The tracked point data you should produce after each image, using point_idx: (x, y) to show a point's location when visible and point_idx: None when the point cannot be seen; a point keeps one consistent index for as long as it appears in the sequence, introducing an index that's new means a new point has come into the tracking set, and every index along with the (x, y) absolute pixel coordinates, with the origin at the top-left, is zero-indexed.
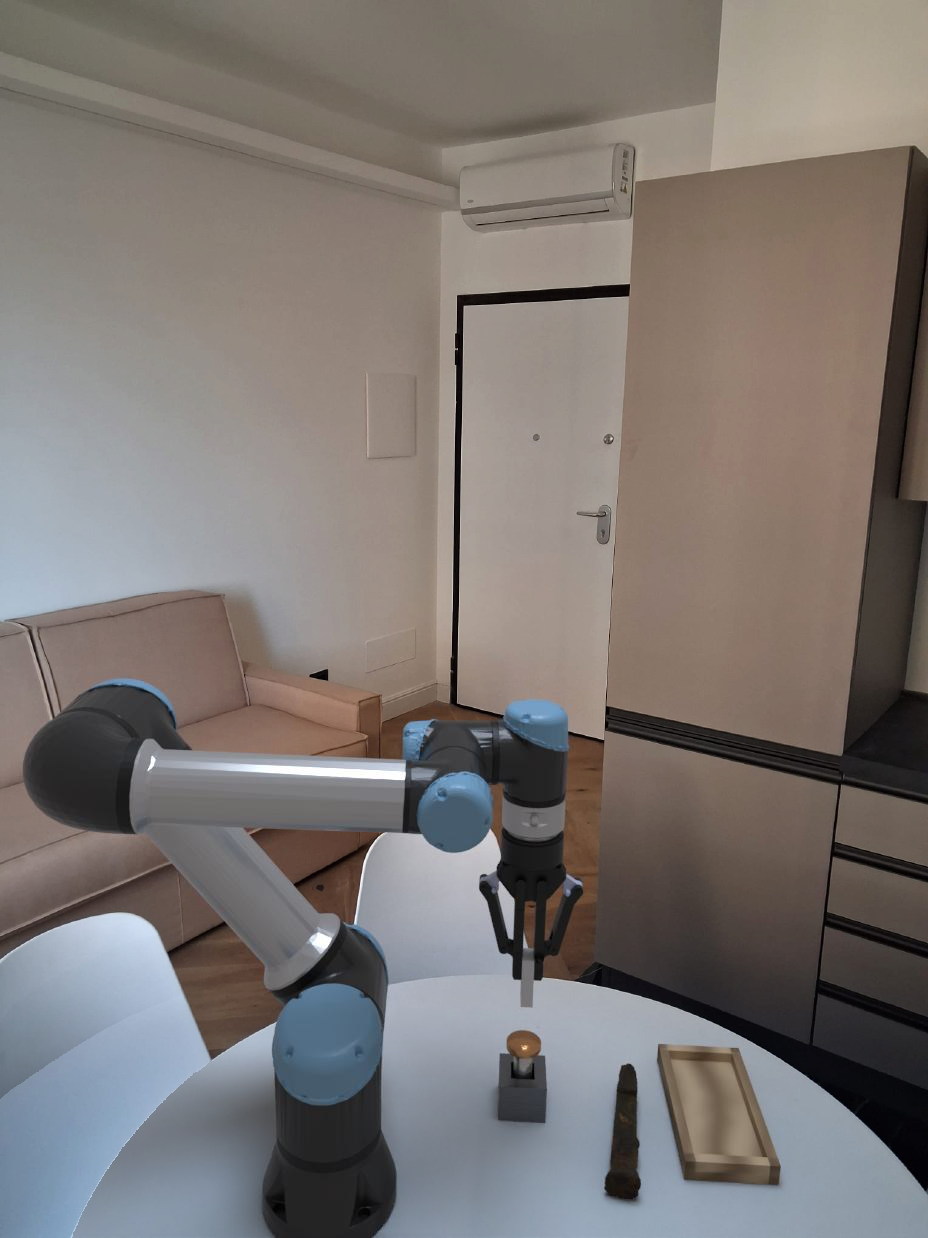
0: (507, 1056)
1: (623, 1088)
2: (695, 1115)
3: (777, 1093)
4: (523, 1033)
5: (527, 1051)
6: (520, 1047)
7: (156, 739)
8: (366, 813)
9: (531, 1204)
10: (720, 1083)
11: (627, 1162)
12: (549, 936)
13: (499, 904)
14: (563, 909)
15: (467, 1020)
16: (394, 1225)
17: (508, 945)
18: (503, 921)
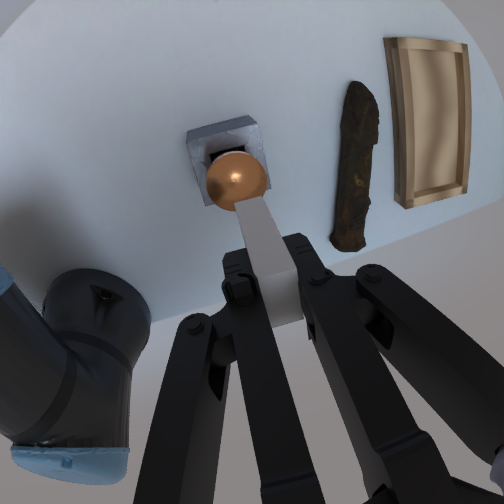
0: (200, 144)
1: (364, 144)
2: (419, 133)
3: (475, 81)
4: (231, 164)
5: None
6: (234, 198)
7: None
8: None
9: None
10: (444, 83)
11: (358, 235)
12: (368, 293)
13: (195, 493)
14: (461, 435)
15: (106, 27)
16: (157, 319)
17: (228, 362)
18: (206, 418)
